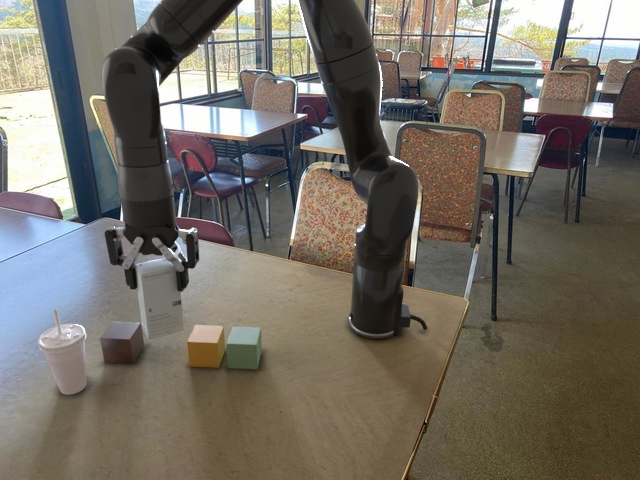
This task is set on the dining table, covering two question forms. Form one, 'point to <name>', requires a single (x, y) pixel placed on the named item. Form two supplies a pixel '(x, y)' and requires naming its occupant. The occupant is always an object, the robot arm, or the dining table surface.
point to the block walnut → (122, 342)
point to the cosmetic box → (159, 298)
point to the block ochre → (206, 346)
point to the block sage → (244, 348)
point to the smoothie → (65, 355)
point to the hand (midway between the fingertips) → (158, 288)
